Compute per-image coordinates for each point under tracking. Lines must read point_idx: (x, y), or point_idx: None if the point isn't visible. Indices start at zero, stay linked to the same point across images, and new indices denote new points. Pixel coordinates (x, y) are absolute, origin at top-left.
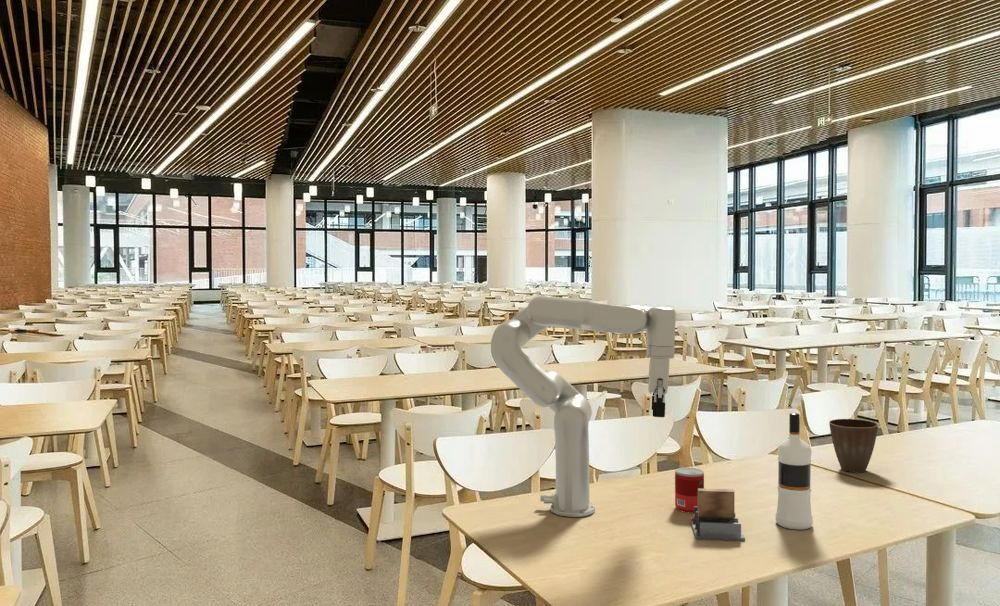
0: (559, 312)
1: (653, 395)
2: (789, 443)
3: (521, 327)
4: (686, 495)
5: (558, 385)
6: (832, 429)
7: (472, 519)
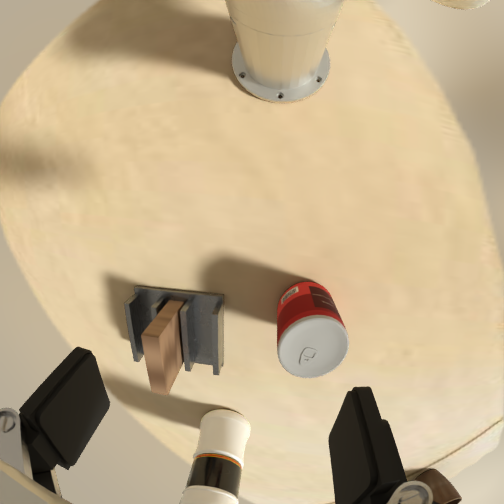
0: None
1: (397, 488)
2: None
3: None
4: (280, 313)
5: None
6: (445, 498)
7: None
